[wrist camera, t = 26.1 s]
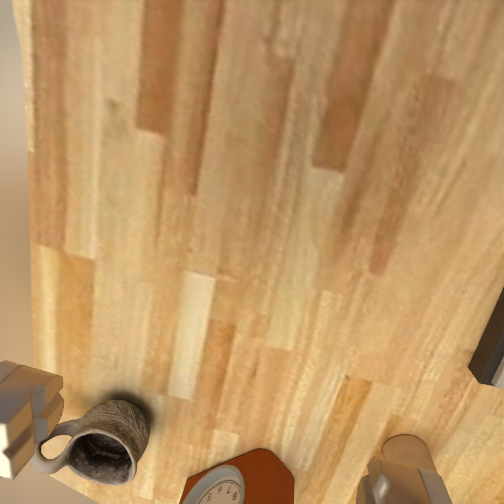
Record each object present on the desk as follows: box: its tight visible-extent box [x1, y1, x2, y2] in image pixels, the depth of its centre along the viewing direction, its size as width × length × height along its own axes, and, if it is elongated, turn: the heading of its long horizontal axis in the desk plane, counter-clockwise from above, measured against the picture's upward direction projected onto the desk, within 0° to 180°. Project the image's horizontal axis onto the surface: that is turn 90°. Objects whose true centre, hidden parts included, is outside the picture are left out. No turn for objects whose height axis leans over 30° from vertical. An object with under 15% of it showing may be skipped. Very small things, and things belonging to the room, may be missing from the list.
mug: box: [30, 400, 150, 486], centre depth 42 cm, size 10×12×10 cm
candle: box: [383, 435, 437, 472], centre depth 38 cm, size 6×6×10 cm
